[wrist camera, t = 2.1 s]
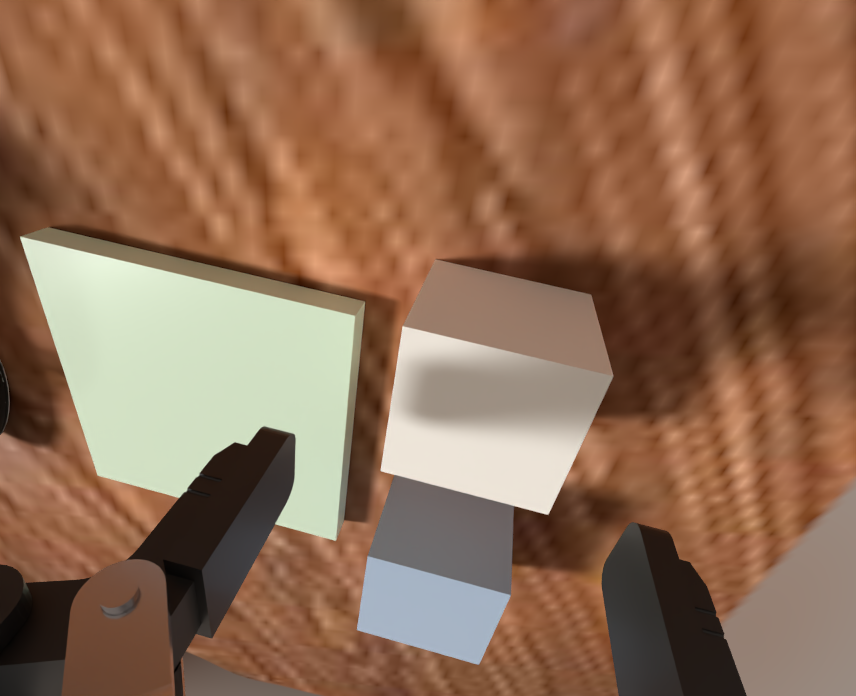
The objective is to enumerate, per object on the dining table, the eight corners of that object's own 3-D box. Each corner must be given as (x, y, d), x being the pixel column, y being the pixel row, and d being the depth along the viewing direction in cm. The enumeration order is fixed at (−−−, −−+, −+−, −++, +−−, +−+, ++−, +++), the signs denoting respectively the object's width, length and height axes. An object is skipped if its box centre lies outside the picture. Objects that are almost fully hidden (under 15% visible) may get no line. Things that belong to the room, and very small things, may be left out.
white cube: (590, 293, 16) (613, 376, 11) (543, 413, 19) (548, 514, 14) (435, 258, 16) (402, 326, 12) (413, 381, 19) (380, 471, 15)
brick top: (514, 489, 21) (510, 595, 17) (487, 559, 24) (478, 664, 20) (399, 460, 21) (367, 556, 17) (386, 532, 24) (356, 629, 20)
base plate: (365, 301, 17) (355, 315, 16) (344, 521, 24) (336, 540, 23) (48, 227, 18) (19, 236, 17) (115, 459, 25) (97, 475, 24)
